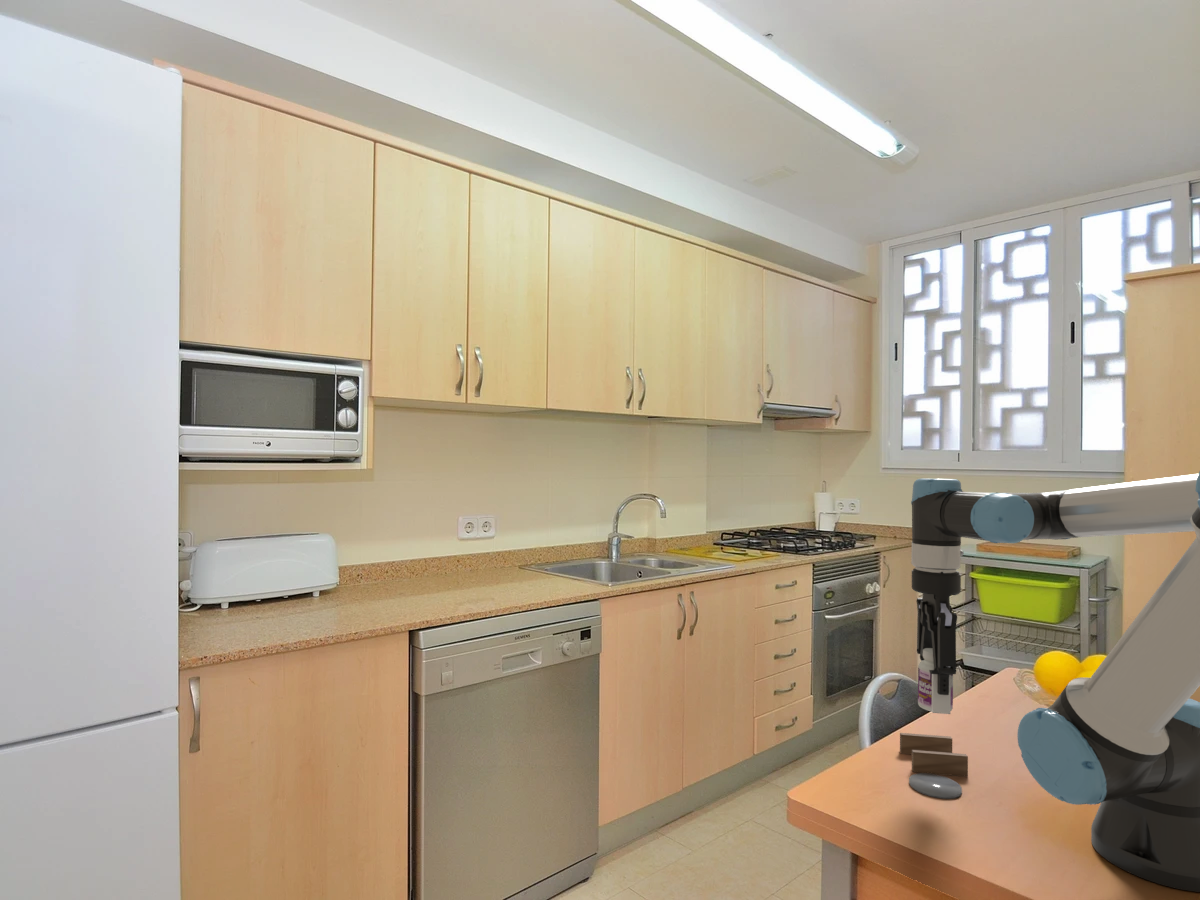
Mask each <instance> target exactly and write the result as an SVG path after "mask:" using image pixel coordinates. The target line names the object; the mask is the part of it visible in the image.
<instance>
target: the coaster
mask: <svg viewBox="0 0 1200 900" xmlns="http://www.w3.org/2000/svg"><path fill="white" fill-rule="evenodd" d="M908 784H909V786H910V787H911V788H912V789H913V790H914V791H916V792H917V793H920V794H923V795H924V796H929V797H932V798H937V799H944V800H945V799H946V800H951V799H957V798H959V797H961V796H962V794H963V788H962V786H961V785H960V784H959V783H958V782H957V781H955V780H953V779H951V778H949V777H947V776H945V775H944V776H943V775H941V774H931V773H919V772H917V773H914V774H911V775H910V776H909V778H908Z"/></svg>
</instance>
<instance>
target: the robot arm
mask: <svg viewBox="0 0 1200 900" xmlns="http://www.w3.org/2000/svg"><path fill="white" fill-rule="evenodd" d="M911 494H912V495H911V500H910V504H911V559H910V560H911V562H910V563H911V565H912V566H913V567H914V568H913V569H912V570H911V589H912V590H913V591H914V592H916V593H920V594H922V597H920V598H919V597H917V598H916V600H915V601H916V609H917V619H916V620H917V626H916V629H917V630H916V633H917V634H916V635H917V636H916V637H917V638H916V654H917V655H919V659H920V662H921V661H922V660H924V658H923V649H925V648H933V661H934V670H929V671H930V674H932V712H931V713H932V714H943V715H951V714H952V713H951V712H952V711H951V675H952V674H953V675H956V674H957V639H956V638H957V622H958V615H957V613H955V612H953V610H952V608H953V607H952V605H951V604H950V597H951V596H956V595H959V594H960V593H961V591H962V586H961V584H962V582H961V581H962V573H960V571H958V570H959V569H960V568H961V557H962V556H964V553H965V552H964V550H962V549H961V548H962V547H961V546H962V538H965V539H973V540H979V541H985V542H990V543H992V544H993V543H994V544H1000V543H1001V544H1017V543H1021V542H1022V541H1025V540H1027V541H1028V540H1070V539H1075V538H1076V539H1077V538H1088V537H1089V538H1090V537H1106V536H1107V537H1110V536H1111V537H1113V536H1128V535H1129V536H1130V535H1146V534H1148V535H1149V534H1167V533H1171V534H1172V533H1188V532H1190V533H1191V532H1194V533H1195V536H1196V537H1195V539H1194V541H1192V543H1191V544H1190V546H1189V547H1188V548H1187V550H1186V551H1185V552H1184V553H1183V554H1182V556H1181V557H1180V558H1179V560H1178V561H1177V563H1176V564H1175V566H1174V567H1173V568H1172V569H1171V571H1170V572H1169V573H1168V575H1167V576H1166V578H1164V580H1163V581H1162V583H1160V585H1159V587H1158V588H1157V589H1156V591H1155V592H1154V593H1153V595H1151V597H1150V599H1148V601H1147V603H1146V604H1145V605H1144V606H1143V608H1142V609H1141V610H1140V612H1139V613H1138V614H1137V615H1136V617H1135V618H1134V619H1133V621H1132V622H1131V623H1130V625H1129V626H1128V628H1127V629H1126V630H1125V631H1124V632H1123V634H1122V635H1121V637H1120V638H1119V640H1118V641H1117V642H1116V643H1115V645H1114V646H1113V647H1112V649H1111V650H1110V651H1109V653H1108V654H1107V655H1106V657H1105V658H1104V659H1103V661H1102V662H1101V663H1100V664H1099V666H1098V668H1097V669H1096V670H1094V672H1093V674H1092V675H1091V677H1077V678H1073V679H1072V680H1070V681H1069V682H1068V683H1067V685H1066V686H1065V687H1064V689H1063V690H1062V691H1061V693H1060V694H1059V695H1058V697H1057V698H1056V699H1055V701H1054V702H1053V704H1051V705H1050V706H1048V707H1037V708H1036V709H1032V711H1028V712H1027V713H1026V714H1024V715H1023V717H1022V718H1021V719H1020V721H1019V723H1018V726H1017V727H1018V728H1017V744H1018V745H1017V746H1018V747H1019V749H1020V751H1021V753H1020V755H1021V758H1022V761H1023V763H1024V765H1025V766H1026V769H1027V771H1028V772H1029V774H1030V775H1031V777H1032V778H1033V779H1034V780H1035V781H1036V782H1037V783H1038V785H1039V786H1040V787H1041V788H1042V789H1044V791H1045V792H1046V793H1048V794H1050V795H1051V796H1052V797H1054V798H1055V799H1057V800H1059V801H1061V802H1064V803H1067V804H1071V805H1076V806H1079V805H1080V806H1081V805H1090V806H1091V805H1099V804H1100V805H1099V807H1098V809H1097V811H1096V813H1095V816H1094V819H1093V821H1092V823H1091V834H1090V837H1091V845H1092V847H1093V848H1094V849H1095V851H1096V852H1097V853H1098V854H1099V855H1100V856H1101V857H1103V858H1104V859H1105V860H1106V861H1108V862H1110V863H1111V864H1112V865H1114V866H1116V867H1118V868H1120V869H1122V870H1124V871H1125V872H1127V873H1130V874H1132V875H1134V876H1136V877H1139V878H1140V879H1144V880H1146V881H1149V882H1152V883H1155V884H1158V885H1162V886H1166V887H1169V888H1172V889H1173V888H1174V889H1177V890H1181V891H1183V890H1184V891H1188V892H1190V891H1191V892H1198V893H1200V701H1197V700H1195V699H1193V698H1191V697H1192V696H1193V695H1194V694H1195V692H1196V691H1197V690H1198V689H1199V688H1200V471H1199V472H1198V473H1193V474H1184V475H1178V476H1177V475H1176V476H1169V477H1161V478H1152V479H1146V480H1145V479H1144V480H1136V481H1129V482H1120V483H1113V484H1105V485H1096V486H1087V487H1082V488H1072V489H1063V490H1062V489H1061V490H1056V491H1054V490H1053V491H1048V492H1045V491H1044V492H986V491H985V492H984V491H983V492H982V491H977V492H976V491H975V492H974V491H964V490H963V489H962V483H961V481H960V480H958V479H956V478H928V477H927V478H923V477H921V478H917V479H916V480H915V481H914V482H913V485H912V493H911Z"/></svg>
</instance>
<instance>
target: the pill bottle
mask: <svg viewBox="0 0 1200 900" xmlns="http://www.w3.org/2000/svg"><path fill="white" fill-rule="evenodd" d="M923 658H924V660H922V661H921V660H920V661H919V663H918V665H917V666H918V667H917V671H918V673H917V674H918V675H917V705H918V706H919V707H920V708H921V709H923V710H925V711H929V712H931V713H933V712H932V674H930V671H929V670H934V661H933V648H925V649H923ZM953 706H954V674H952V675H951V712H952V711H953V709H954V707H953Z"/></svg>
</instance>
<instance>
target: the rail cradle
mask: <svg viewBox="0 0 1200 900" xmlns="http://www.w3.org/2000/svg"><path fill="white" fill-rule="evenodd" d="M899 753H900V754H902V755H903V754H904V755H911V771H912V772H913V773H930V774H936V775H942V776H943V775H944V776H958V777H969V757H968V756H969V755H968V754H967V753H957V752H955V753H954V752H953V738H952V736H948V735H947V736H946V735H938V734H937V735H933V734H921V733H909V732H908V733H907V732H900V733H899Z"/></svg>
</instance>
